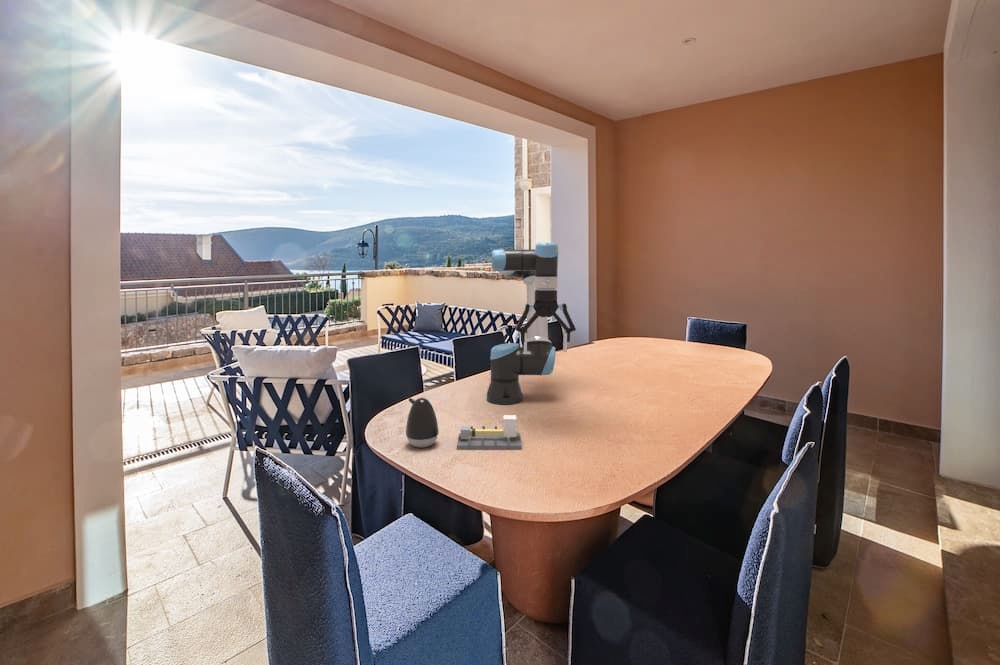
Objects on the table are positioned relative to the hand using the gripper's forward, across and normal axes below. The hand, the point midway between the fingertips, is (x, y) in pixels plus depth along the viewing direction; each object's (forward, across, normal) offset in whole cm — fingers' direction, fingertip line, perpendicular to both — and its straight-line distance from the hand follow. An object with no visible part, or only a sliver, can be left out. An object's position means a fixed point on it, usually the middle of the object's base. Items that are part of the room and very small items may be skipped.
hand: (545, 351), depth 167 cm
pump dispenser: (+27, -41, -15) cm, 51 cm away
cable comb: (+27, -19, -14) cm, 36 cm away
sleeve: (+24, -13, -15) cm, 31 cm away
